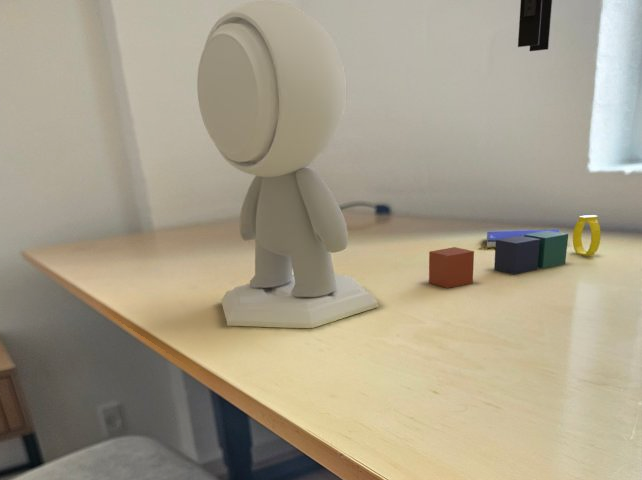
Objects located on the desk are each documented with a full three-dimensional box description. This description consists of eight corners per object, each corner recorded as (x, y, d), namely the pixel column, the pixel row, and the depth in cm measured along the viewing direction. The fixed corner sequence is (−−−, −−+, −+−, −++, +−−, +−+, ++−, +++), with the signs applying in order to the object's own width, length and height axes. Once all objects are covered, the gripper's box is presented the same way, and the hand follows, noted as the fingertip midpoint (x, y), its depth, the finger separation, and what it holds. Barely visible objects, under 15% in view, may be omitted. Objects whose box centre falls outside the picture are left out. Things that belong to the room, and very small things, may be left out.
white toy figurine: (187, 313, 91) (139, 14, 75) (312, 279, 104) (294, 17, 88) (274, 340, 77) (238, -21, 61) (407, 297, 90) (405, -11, 74)
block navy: (516, 265, 102) (519, 235, 100) (537, 269, 99) (540, 239, 97) (493, 269, 101) (495, 239, 99) (513, 274, 97) (516, 243, 95)
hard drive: (487, 239, 115) (562, 236, 112) (487, 230, 122) (557, 228, 119) (487, 248, 116) (561, 246, 113) (486, 239, 123) (556, 237, 120)
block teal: (544, 259, 104) (546, 230, 102) (565, 264, 101) (568, 233, 98) (521, 264, 103) (524, 234, 101) (542, 268, 99) (545, 238, 97)
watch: (602, 257, 103) (607, 217, 100) (585, 259, 102) (590, 219, 100) (582, 250, 108) (587, 212, 105) (566, 252, 108) (570, 214, 105)
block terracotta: (453, 277, 98) (454, 246, 96) (472, 283, 94) (474, 251, 92) (428, 282, 97) (429, 251, 94) (447, 288, 93) (447, 256, 91)
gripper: (529, -111, 98) (518, 54, 108) (503, -162, 78) (493, 46, 88) (583, -122, 95) (567, 49, 105) (571, -177, 75) (553, 40, 85)
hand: (533, 48), depth 96 cm, fingers open, 13 cm apart
